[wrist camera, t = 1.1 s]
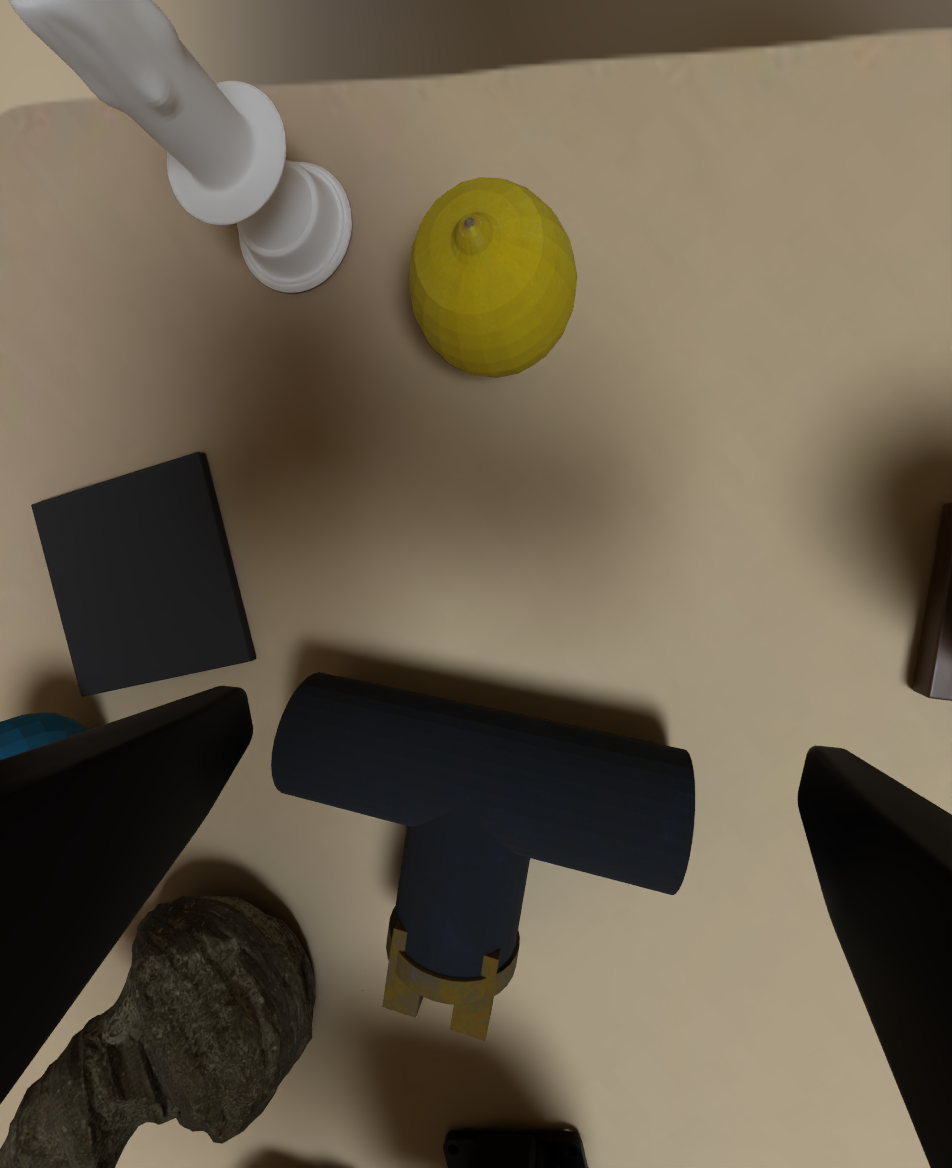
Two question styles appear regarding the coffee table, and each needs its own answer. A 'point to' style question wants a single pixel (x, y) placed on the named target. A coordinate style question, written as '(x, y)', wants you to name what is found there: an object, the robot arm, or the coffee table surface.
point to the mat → (144, 577)
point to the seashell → (175, 1038)
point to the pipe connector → (481, 820)
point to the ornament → (34, 732)
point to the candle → (205, 136)
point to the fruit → (492, 277)
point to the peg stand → (938, 621)
